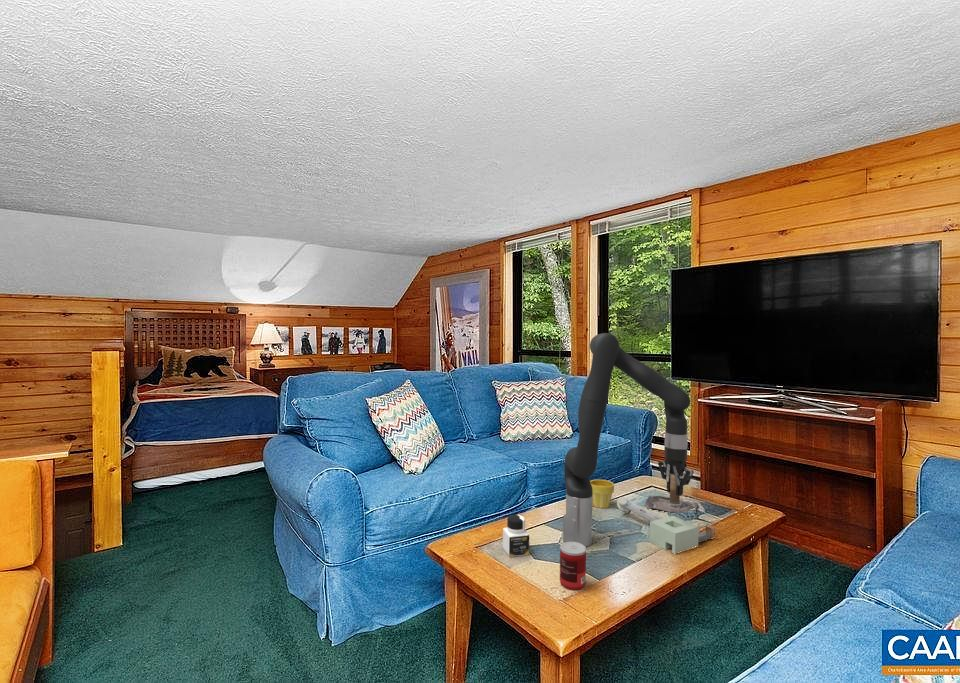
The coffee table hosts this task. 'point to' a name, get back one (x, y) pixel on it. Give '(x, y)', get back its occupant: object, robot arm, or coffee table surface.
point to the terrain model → (668, 504)
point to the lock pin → (707, 533)
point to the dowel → (673, 490)
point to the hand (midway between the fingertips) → (674, 493)
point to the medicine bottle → (515, 537)
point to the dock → (673, 534)
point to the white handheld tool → (636, 509)
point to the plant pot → (602, 493)
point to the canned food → (572, 565)
